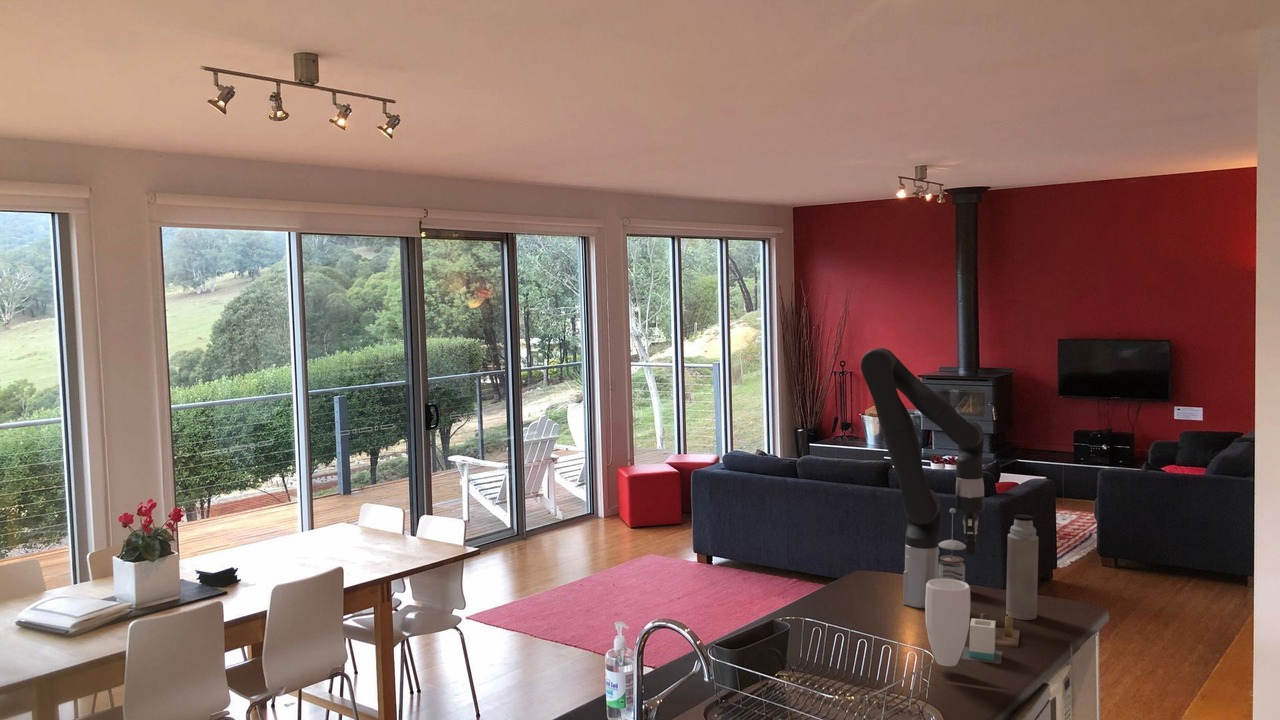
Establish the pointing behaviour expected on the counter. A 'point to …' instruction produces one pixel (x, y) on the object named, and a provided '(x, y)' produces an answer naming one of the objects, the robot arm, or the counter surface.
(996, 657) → the pad
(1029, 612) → the thermos bottle
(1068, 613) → the counter surface
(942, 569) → the french press
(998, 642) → the pin board
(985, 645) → the sleeve
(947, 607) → the cup
